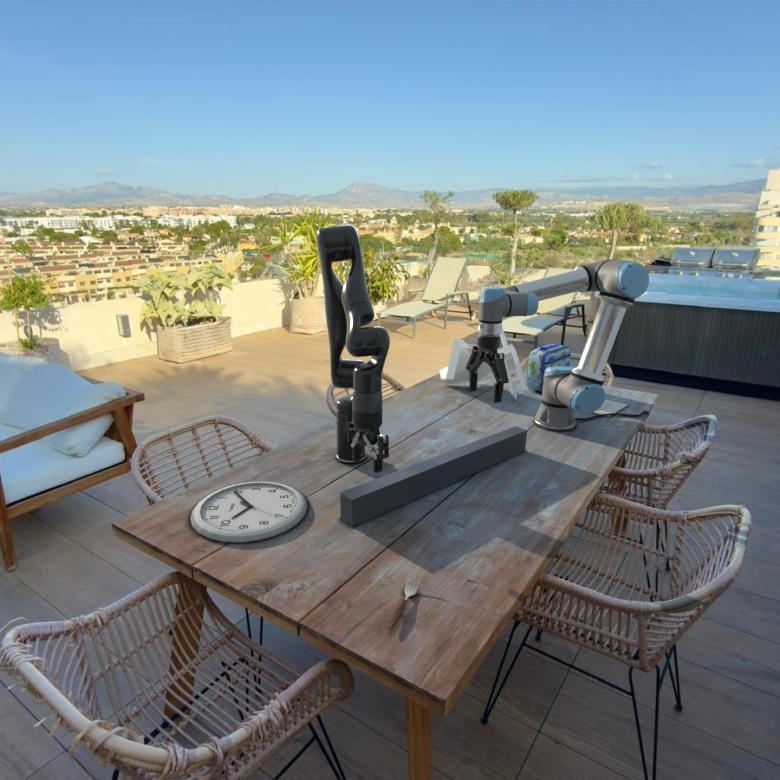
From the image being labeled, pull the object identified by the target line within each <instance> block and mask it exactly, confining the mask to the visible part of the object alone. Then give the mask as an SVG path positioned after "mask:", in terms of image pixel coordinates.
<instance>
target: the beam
mask: <svg viewBox="0 0 780 780" xmlns="http://www.w3.org/2000/svg"><path fill="white" fill-rule="evenodd" d="M527 437H528V430H527V429H525V428H522V427H519V426H516V425H515V426H512V427H509V428H507V429H504V430H501V431H499V432H496V433H493V434H491V435H488V436H485V437H483V438H480V439H478V440H474V441H472V442H470V443H467V444H465V445H462V446H458V447H456V448H454V449H451V450H449V451H446V452H443V453H441V454H438V455H435V456H432V457H430V458H427V459H425V460H422V461H420V462H417V463H414V464H411V465H409V466H406V467H403V468H401V469H397V470H396V471H393V472H390V473H388V474H385V475H383V476H380V477H377V478H375V479H372V480H370V481H367V482H365V483H362V484H359V485H356V486H354V487H351V488H349V489H346V490H344V491H341V492H339V493H340V496H339V497H340V504H339V505H340V520H341V521H343V522H344V523H346V525H349V526H350V527H351V528H353V527H355V526H357V525H360V524H363V523H365V522H367V521H369V520H371V519H373V518H376V517H378V516H380V515H383V514H385V513H388V512H390V511H392V510H394V509H396V508H399V507H401V506H403V505H405V504H408V503H411V502H413V501H414V500H418V499H419V498H421V497H424V496H426V495H429V494H431V493H434V492H435V491H437V490H440V489H442V488H444V487H447V486H449V485H451V484H453V483H455V482H458V481H460V480H463V479H465V478H467V477H470V476H471V475H474V474H476V473H478V472H481V471H483V470H485V469H487V468H490V467H492V466H494V465H497V464H499V463H502V462H504V461H506V460H508V459H510V458H512V457H515V456H517V455H520V454H522V453H524V452H526V447H527V446H526V445H527Z"/></svg>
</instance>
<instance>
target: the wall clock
mask: <svg viewBox="0 0 780 780" xmlns="http://www.w3.org/2000/svg"><path fill="white" fill-rule="evenodd" d="M307 503H308V502H307V499H306V498H305V496H304V495H303V493H301V492H300V491H298V490H297V489H295V488H294V487H291V486H289V485H286V484H283V483H280V482H279V483H278V482H272V481H249V482H248V481H247V482H242V483H238V484H232V485H229V486H226V487H223V488H220V489H218V490H216V491H213V492H211V493H210V494H208V495H207V496H205V497H204V498H202V499H201V500H200V501H199V502H198V503H197V504H196V505H195V507H194V508H193V509H192V511H191V515H190V523H191V526H192V528H193V529H194V531H196V532H197V533H198V534H199V535H201V536H203V537H205V538H208V539H210V540H214V541H218V542H222V543H239V544H240V543H249V542H256V541H262V540H265V539H269V538H274V537H276V536H278V535H280V534H282V533H286V532H287V531H289V530H290V529H292V528H293V527H295V526H296V525H298V524H299V523H300V522H301V521H302V519H303V518H304V517H305V516H306V513H307V510H308V504H307Z"/></svg>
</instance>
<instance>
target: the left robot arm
mask: <svg viewBox="0 0 780 780" xmlns="http://www.w3.org/2000/svg"><path fill="white" fill-rule="evenodd" d="M315 242H316V248H317V255H318V261H319V268H320V273H321V278H322V279H321V280H322V287H323V297H324V311H325V321H326V322H325V323H326V327H327V328H326V329H327V335H328V344H329V360H330V362H329V364H330V366H329V367H330V381H331V384H332V386H333V387H334V388H336V389H342V390H343V389H344V390H352V393H351V394H347V395H344V396H342V397H340V398H338V399H337V400H336V404H335V405H336V408H335V409H336V460H337V461H338V462H340V463H342V464H350V465H352V464H353V465H354V464H358V463H359V464H360V463H362V462H363V461H365V459H366V447H367V449H368V451H369V452H370V453H371V455H372V457H373V459H372V460H373V461H372V463H373V465H372V467H373V468H372V469H373V470H372V471H373V473H375V474H377V473H381V472H382V471H383V460H385V459H388V458H390V440H389V435H388V434H381V431H380V428H381V426H382V424H383V406H384V405H383V403H384V401H383V400H384V399H383V398H384V397H383V388H382V387H383V372H384V367H385V363H386V360H387V356H388V354H389V351H390V345H391V338H390V333H389V331H388V330H387V329H386V328H385V327H383V326H367V325H370V324H371V323H372V322H373V321H374V319H375V310H374V306H373V303H372V300H371V296H370V293H369V288H368V285H367V279H366V271H365V264H364V257H363V252H362V246H361V240H360V236H359V233H358V231H357V228H356V226H354V225H353V224H341V225H340V224H339V225H332V226H325V227H320V228H318V229H317V231H316V241H315ZM348 261H350V268H349V272H348V273H347V277H346V278H345V281H344V283H342V282H341V280H340V279H339V277H338V276H337V274H336V273H335V270H334V269H333V263H342V262H348ZM345 348H346V351H347V352H348V354H349V355H351V356H352V357H354V358H364V357H370V358H369V360H368V361H367V362H365V360H362V359H346V358H343V357H342V354H343V351H344V349H345Z"/></svg>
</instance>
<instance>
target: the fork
mask: <svg viewBox="0 0 780 780" xmlns="http://www.w3.org/2000/svg"><path fill="white" fill-rule="evenodd" d="M421 576H422V575H421V574H420V575H419V578H418V576H416V577H415V574H413V577H412V573H410V574H409V578H408V579H407V580H408V581H407V582H406V586H405V588H404V594H405V598H404V600H403V601H402V602H401V604H400V605H399V607H398V608H397V610H396V612H395V614H394V615H395V616H394V618H393V621H392V623H391V627H390V629H389V631H390V632H391V631H392V630H393V628H394V627H395V625H396V624H397V622H398V621H399V619H400V618H401V616H402V615H403V613H404V610H405V608H406V605H407V601H408V599H409V598H410V597H413V596H415V595H417V592H418V590H419V585H420V580H421ZM411 577H412V579H411ZM414 577H415V580H414ZM417 579H418V581H417ZM416 584H417V585H416Z"/></svg>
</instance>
